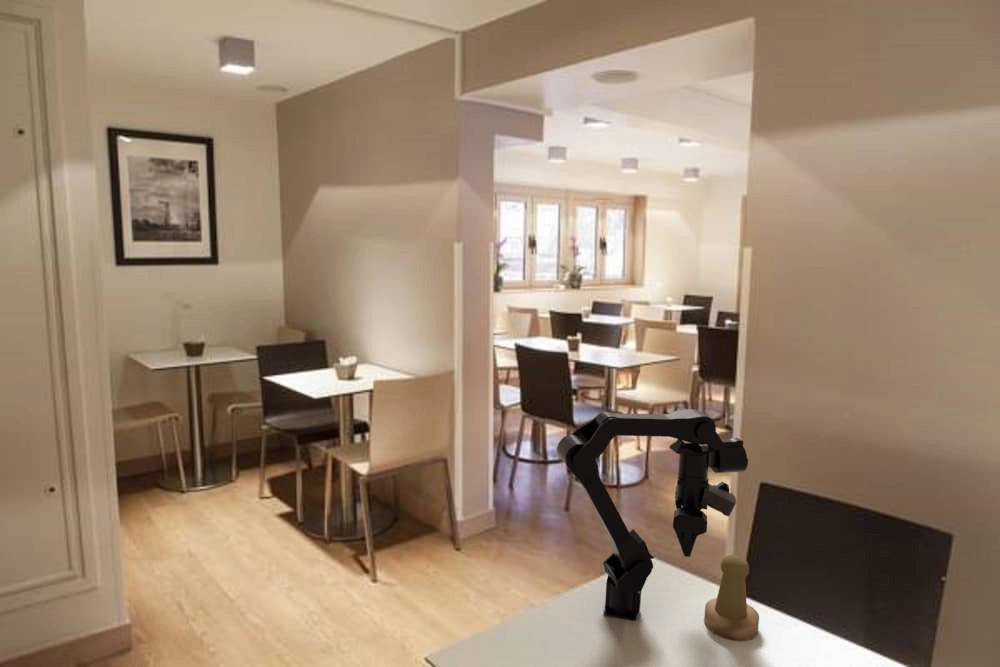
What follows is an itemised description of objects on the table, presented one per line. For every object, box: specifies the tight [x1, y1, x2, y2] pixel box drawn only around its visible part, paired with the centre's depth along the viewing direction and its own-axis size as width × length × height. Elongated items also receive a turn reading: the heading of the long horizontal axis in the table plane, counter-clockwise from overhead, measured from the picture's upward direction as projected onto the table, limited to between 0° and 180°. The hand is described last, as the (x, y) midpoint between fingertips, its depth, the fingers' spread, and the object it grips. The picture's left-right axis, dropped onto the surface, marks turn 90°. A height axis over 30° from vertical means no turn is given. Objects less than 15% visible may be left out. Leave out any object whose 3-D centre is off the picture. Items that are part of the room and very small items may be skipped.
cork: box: [715, 554, 750, 620], centre depth 128 cm, size 6×6×11 cm
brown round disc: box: [703, 597, 760, 642], centre depth 129 cm, size 10×10×3 cm
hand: (687, 546), depth 134 cm, fingers open, 9 cm apart
